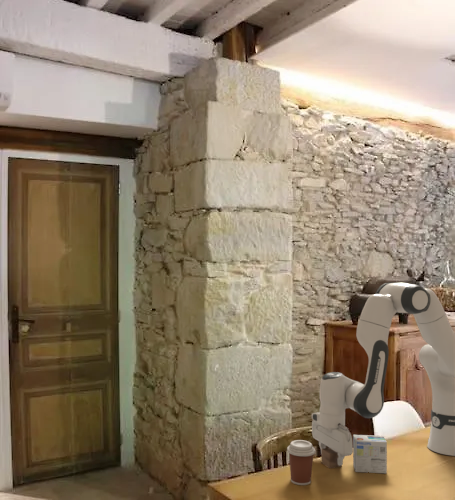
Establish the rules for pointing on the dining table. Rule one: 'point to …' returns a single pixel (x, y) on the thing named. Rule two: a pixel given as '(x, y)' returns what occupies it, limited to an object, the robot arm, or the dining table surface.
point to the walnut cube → (329, 458)
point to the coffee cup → (301, 461)
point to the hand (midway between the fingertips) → (331, 459)
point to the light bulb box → (369, 454)
